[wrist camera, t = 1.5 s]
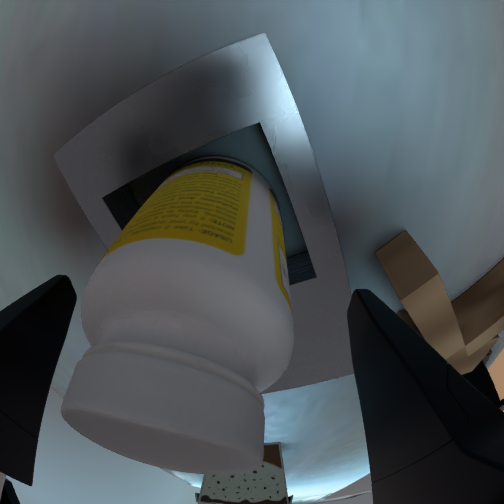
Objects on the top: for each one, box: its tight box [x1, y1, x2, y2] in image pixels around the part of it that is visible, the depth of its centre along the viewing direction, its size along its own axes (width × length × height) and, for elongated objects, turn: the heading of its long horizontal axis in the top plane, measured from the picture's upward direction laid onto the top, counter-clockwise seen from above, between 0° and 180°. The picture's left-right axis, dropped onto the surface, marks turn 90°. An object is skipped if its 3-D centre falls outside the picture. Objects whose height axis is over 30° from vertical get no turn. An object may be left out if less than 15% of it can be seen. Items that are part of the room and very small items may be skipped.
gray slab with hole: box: [52, 33, 354, 394], centre depth 13 cm, size 18×9×2 cm, turn 22°
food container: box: [195, 442, 293, 504], centre depth 27 cm, size 12×6×10 cm, turn 102°
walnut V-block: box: [375, 230, 504, 375], centre depth 13 cm, size 10×14×4 cm
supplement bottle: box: [61, 156, 294, 475], centre depth 8 cm, size 5×5×10 cm
